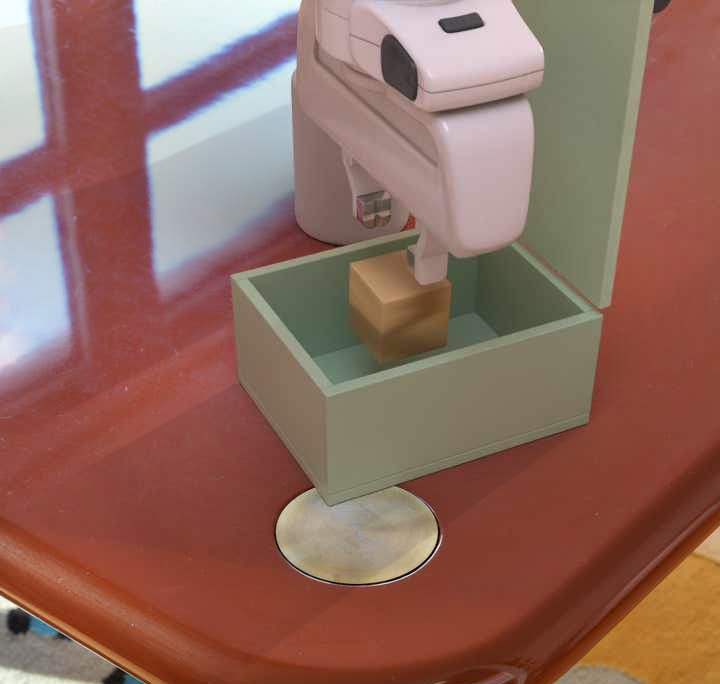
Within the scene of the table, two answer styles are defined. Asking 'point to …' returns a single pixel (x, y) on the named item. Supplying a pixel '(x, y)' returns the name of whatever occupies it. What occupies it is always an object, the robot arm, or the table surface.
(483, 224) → the robot arm
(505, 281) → the green hinged box
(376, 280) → the block
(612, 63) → the green box lid
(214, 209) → the table surface
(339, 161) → the mug
